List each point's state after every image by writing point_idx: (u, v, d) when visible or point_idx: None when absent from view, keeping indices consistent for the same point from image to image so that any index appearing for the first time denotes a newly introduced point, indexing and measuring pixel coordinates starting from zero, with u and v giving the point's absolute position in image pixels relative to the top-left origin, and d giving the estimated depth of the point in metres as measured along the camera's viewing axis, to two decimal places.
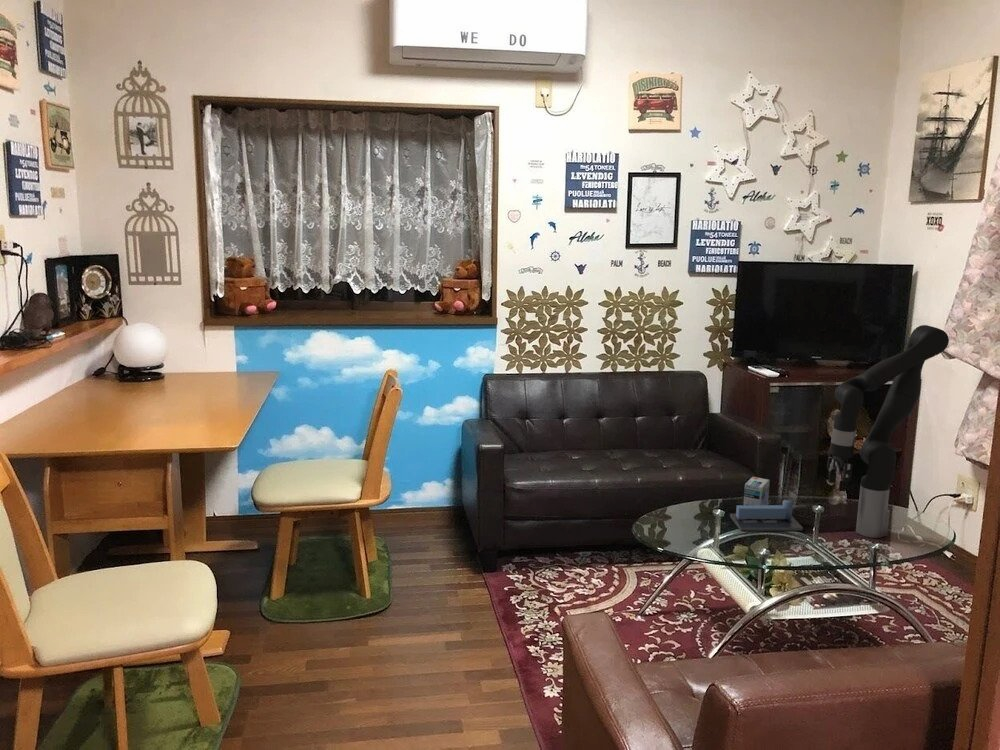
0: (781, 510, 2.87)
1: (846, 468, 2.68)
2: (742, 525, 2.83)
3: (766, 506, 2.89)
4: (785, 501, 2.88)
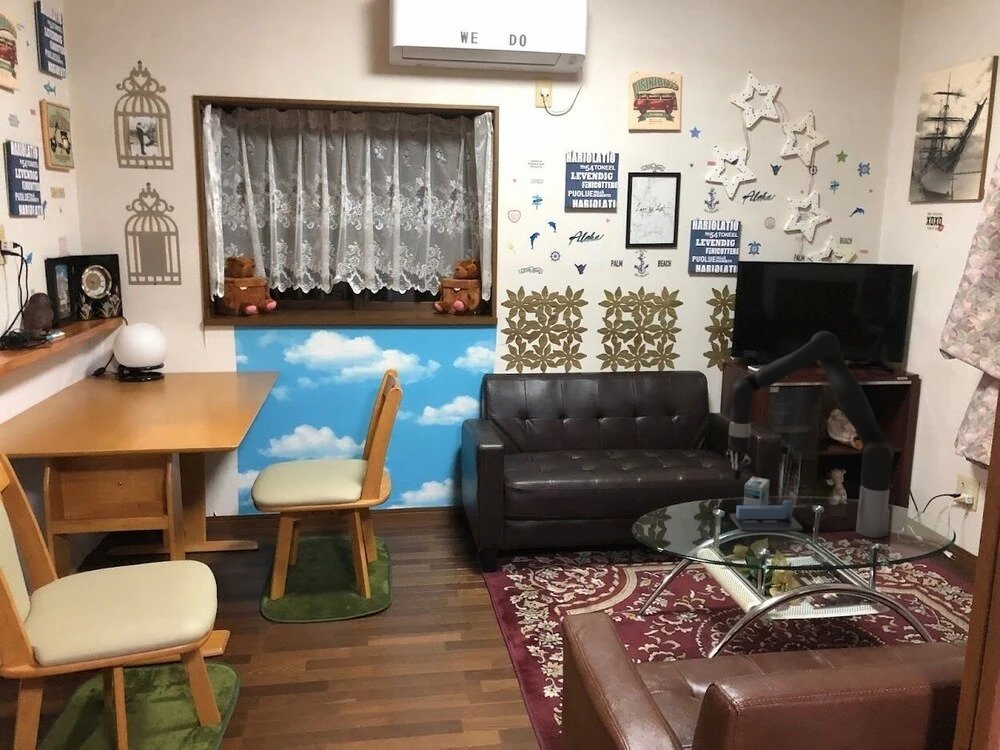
0: (781, 510, 2.87)
1: None
2: (742, 525, 2.83)
3: (766, 506, 2.89)
4: (785, 501, 2.88)
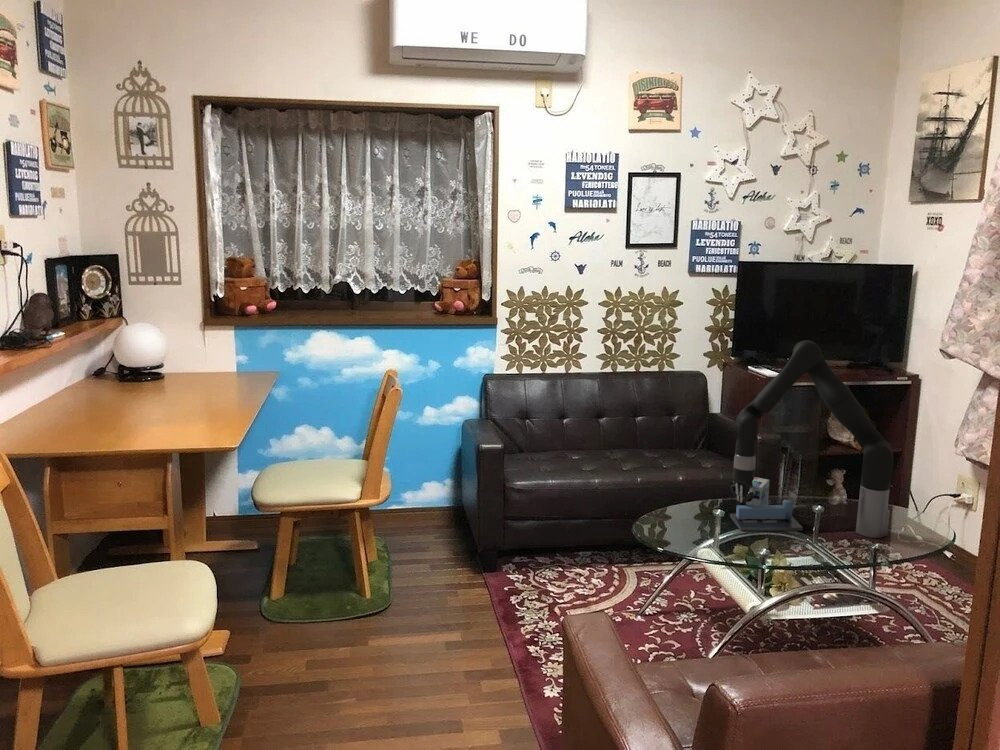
0: (781, 510, 2.87)
1: None
2: (742, 525, 2.83)
3: (766, 506, 2.89)
4: (785, 501, 2.88)
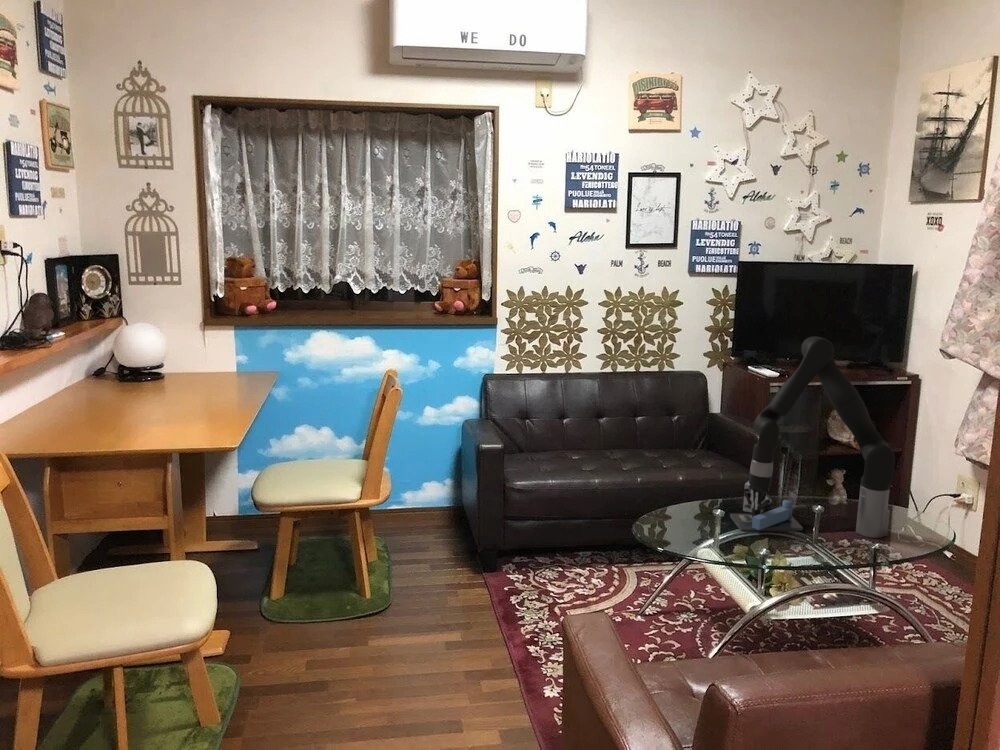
0: (786, 511, 2.86)
1: None
2: (742, 525, 2.83)
3: (773, 510, 2.85)
4: (786, 501, 2.88)
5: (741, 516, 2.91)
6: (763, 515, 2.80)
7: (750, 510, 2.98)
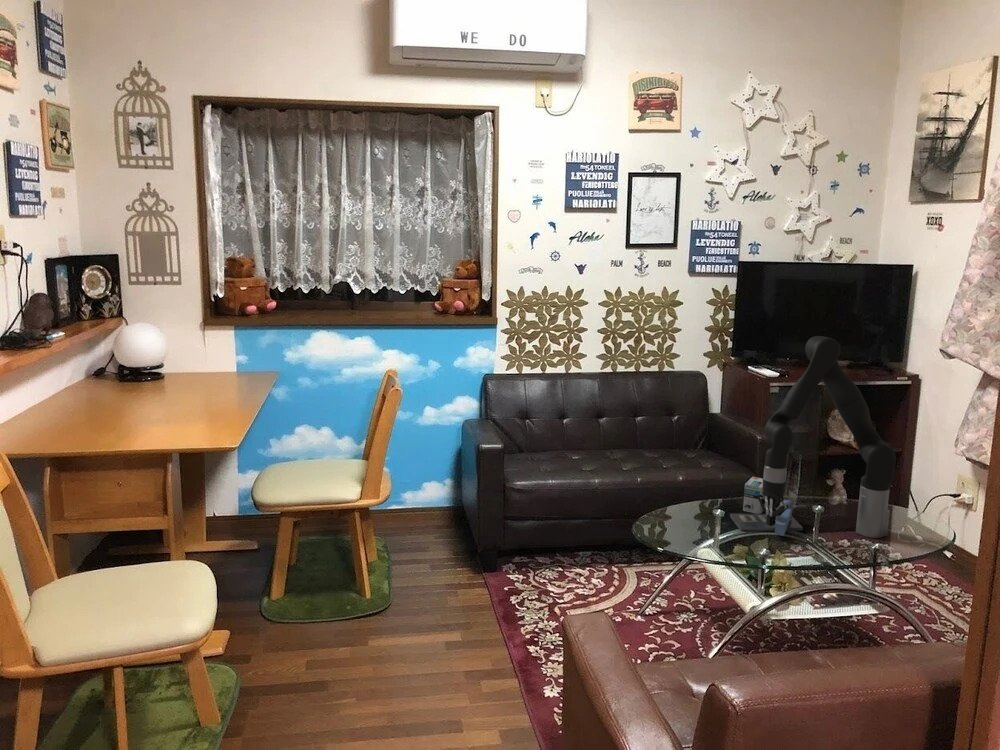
0: (790, 511, 2.86)
1: None
2: (742, 525, 2.83)
3: (782, 513, 2.82)
4: (786, 502, 2.87)
5: (741, 516, 2.91)
6: (782, 520, 2.76)
7: (750, 510, 2.98)
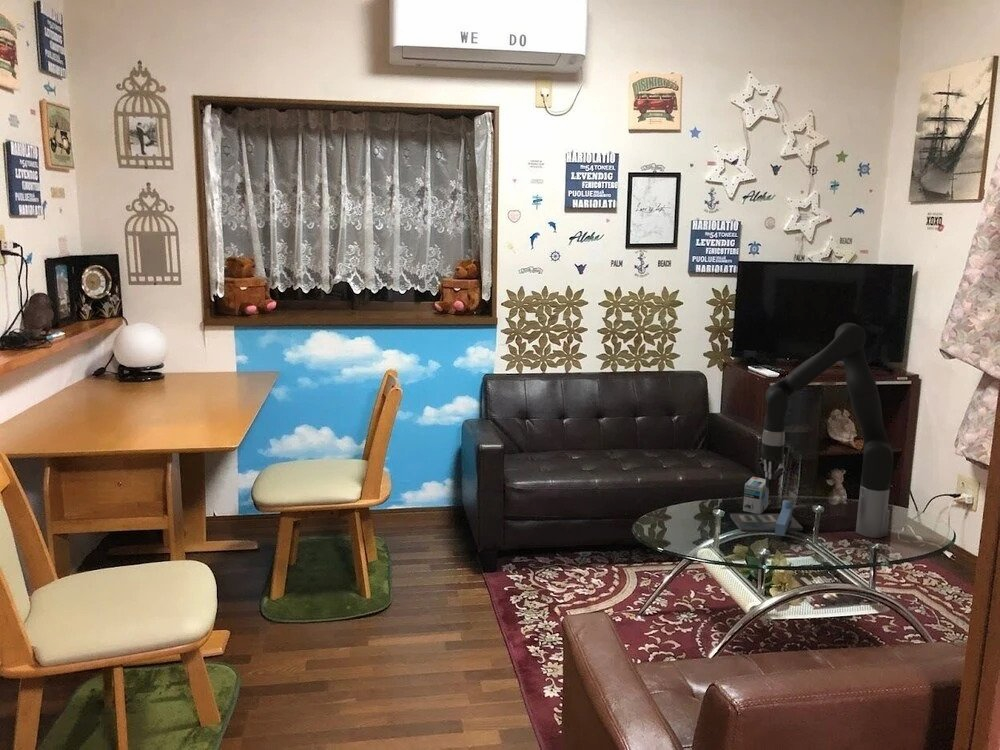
0: (790, 511, 2.86)
1: None
2: (742, 525, 2.83)
3: (782, 513, 2.82)
4: (786, 502, 2.87)
5: (741, 516, 2.91)
6: (782, 520, 2.76)
7: (750, 510, 2.98)
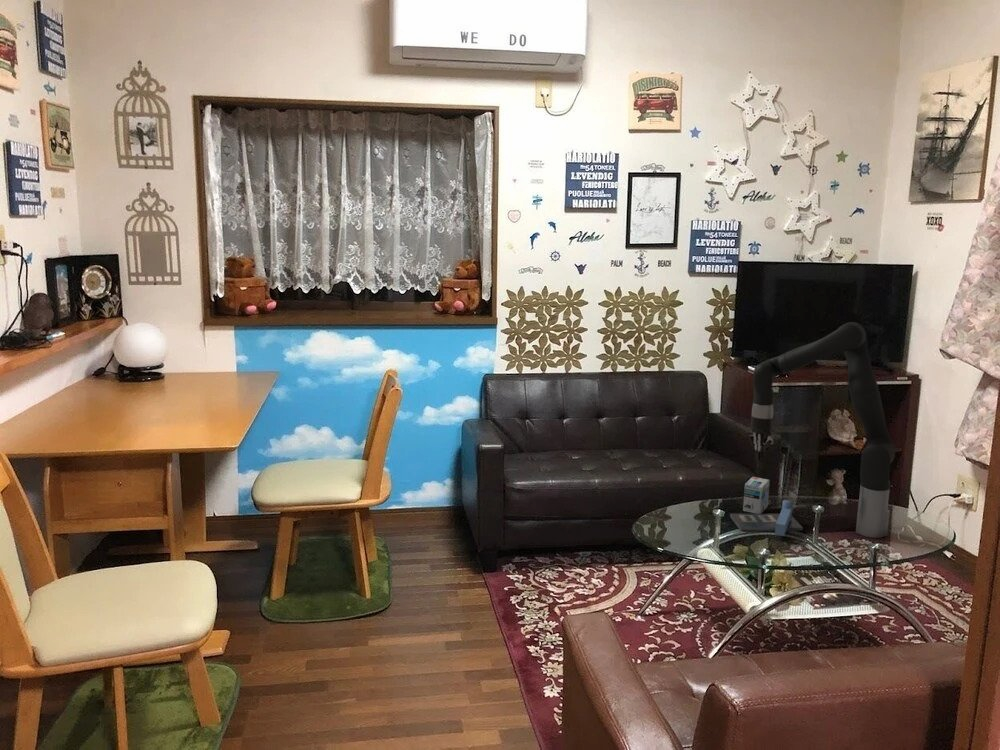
0: (790, 511, 2.86)
1: None
2: (742, 525, 2.83)
3: (782, 513, 2.82)
4: (786, 502, 2.87)
5: (741, 516, 2.91)
6: (782, 520, 2.76)
7: (750, 510, 2.98)
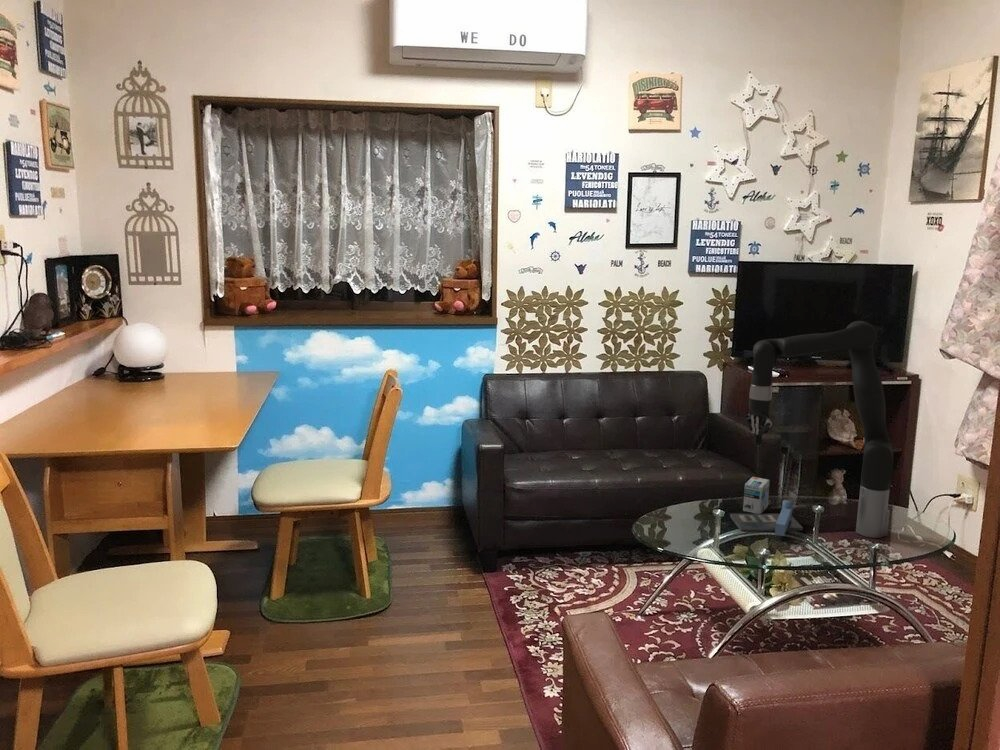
0: (790, 511, 2.86)
1: None
2: (742, 525, 2.83)
3: (782, 513, 2.82)
4: (786, 502, 2.87)
5: (741, 516, 2.91)
6: (782, 520, 2.76)
7: (750, 510, 2.98)
